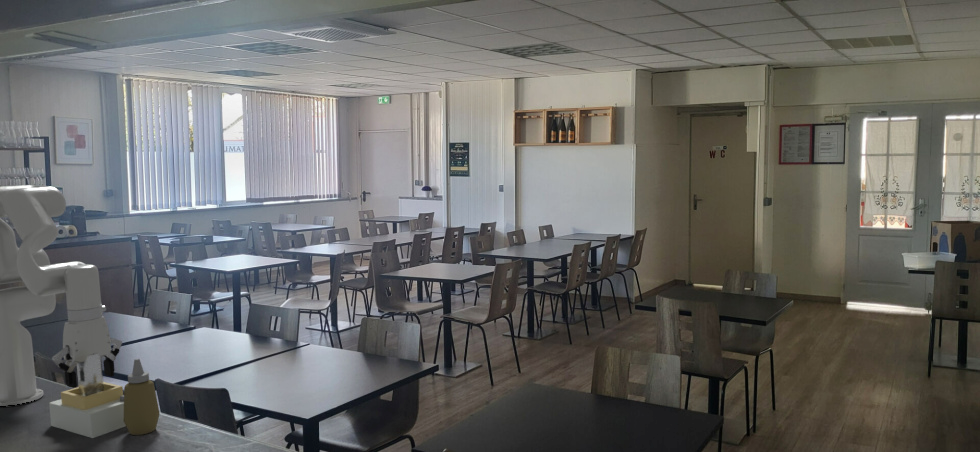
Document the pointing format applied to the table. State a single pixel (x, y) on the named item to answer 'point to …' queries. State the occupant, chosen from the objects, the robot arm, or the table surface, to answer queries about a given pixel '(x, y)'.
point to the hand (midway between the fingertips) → (91, 381)
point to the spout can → (90, 375)
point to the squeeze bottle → (140, 402)
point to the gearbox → (89, 411)
